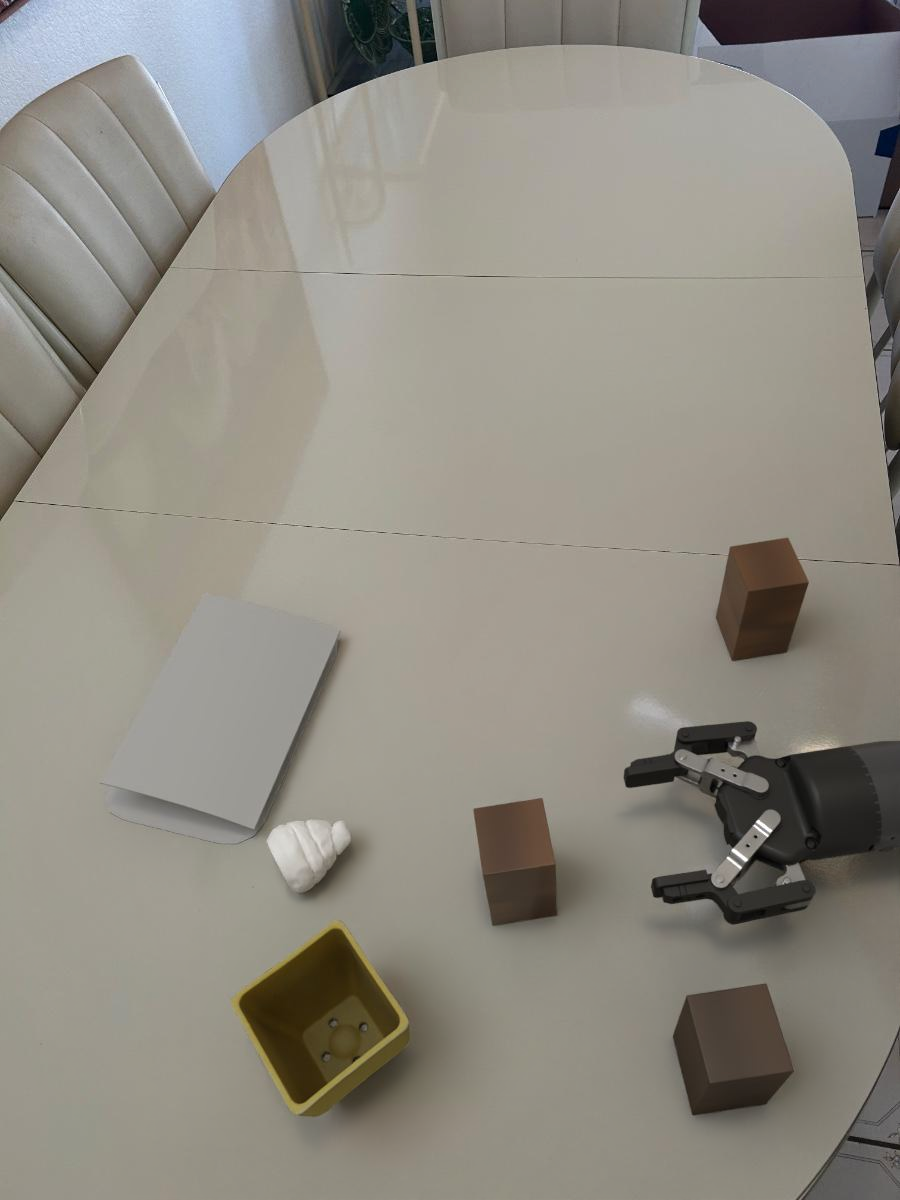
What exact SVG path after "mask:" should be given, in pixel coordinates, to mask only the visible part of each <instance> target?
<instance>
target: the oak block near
mask: <svg viewBox="0 0 900 1200" xmlns="http://www.w3.org/2000/svg"><path fill="white" fill-rule="evenodd" d="M672 1039H673V1043H674V1049H675V1051H676V1056H677V1059H678V1064H679V1068H680V1072H681V1075H682V1080H683V1084H684V1088H685V1092H686V1096H687V1099H688V1103H689V1108H690V1112H691V1116H699V1115H705V1114H706V1115H707V1114H711V1113H712V1114H713V1113H719V1112H724V1111H725V1112H726V1111H732V1110H738V1109H745V1108H746V1109H747V1108H751V1107H758V1106H764V1105H767V1104H768V1102H769V1101H770V1100H771V1099H772V1098H773V1097H774V1096H775V1095H776V1094H777V1092H778V1091H779V1090H780V1089H781V1087H782V1086H783V1085H784V1084H785V1083H786V1082H787V1080H788V1079H789V1078H790V1077H791V1076H792V1075H793V1073H795V1068H794V1065H793V1061H792V1059H791V1056H790V1052H789V1049H788V1046H787V1043H786V1040H785V1036H784V1034H783V1031H782V1027H781V1025H780V1021H779V1018H778V1015H777V1012H776V1009H775V1006H774V1002H773V999H772V996H771V993H770V990H769V987H768V984H767V983H759V984H753V985H747V986H740V987H739V986H738V987H733V988H726V989H720V990H719V989H718V990H713V991H707V992H700V993H693V994H688V995H686V996H685V1000H684V1002H683V1005H682V1008H681V1010H680V1014H679V1016H678V1020H677V1023H676V1026H675V1028H674V1031H673V1034H672Z"/></svg>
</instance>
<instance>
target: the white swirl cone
mask: <svg viewBox="0 0 900 1200" xmlns="http://www.w3.org/2000/svg"><path fill="white" fill-rule="evenodd" d="M351 841H352V835H351V832H350V831H349V830H348V828H347V823H346V821H344V820H338V821H335V823H333V825H331V823H330V822H329V821H327V820H323V819H315V818H314V819H307V820H306V821H304V820H292V821H288V822H286V824H281V823H280V824H278V825H277V826H276V827H274V828H273V829H272V830H271V831H270V833H269V835H268V838H266V844H267V845H268V848H269V850H270V852H271V854H272V856H273V859H274V860H275V863H276V865H277V866H278V869H279V871H280V872H281V874H282V876H283V879H284V880H285V882H286V883H287V885H288V887H289V888H290V890H291V892H292V893H298V894H303V893H305V892H308V891H309V890H311V889H312V888H314V887H315V885H316V884H318V883H319V882H321V880H322V879H323V878H324V877H325V876H326V874H327V872H328V870H330V869H331V868H332V866H333V865H334V864H335V862H336V860H337V856H339V855H341V854H342V853H343V852H344V850H345V849H346V848H347V847H348V846H349V845H350V843H351Z"/></svg>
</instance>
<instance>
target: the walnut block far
mask: <svg viewBox="0 0 900 1200" xmlns="http://www.w3.org/2000/svg"><path fill="white" fill-rule="evenodd" d="M809 583H810V581H809V579H808V576H807V574H806V572H805V571H804V569H803V566H802V564H801V561H800V560H799V557H798V555H797V553H796V551H795V549H794V547H793V544H792V543H791V540H790V539H789V537H782V538H776V539H769V540H763V541H762V540H761V541H756V542H750V543H744V544H737V545H731V546H729V550H728V555H727V560H726V564H725V570H724V575H723V580H722V585H721V590H720V593H719V594H720V595H719V599H718V604H717V610H716V613H715V620H716V622H717V625H718V628H719V630H720V633H721V635H722V638H723V641H724V643H725V646H726V649H727V651H728V654H729V657H730V659H731V661H738V660H739V661H740V660H745V659H752V658H759V657H765V656H770V655H777V654H785V653H788V650H789V647H790V644H791V640H792V638H793V634H794V630H795V627H796V625H797V621H798V618H799V615H800V612H801V609H802V607H803V606H802V605H803V602H804V599H805V596H806V593H807V590H808V587H809Z"/></svg>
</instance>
